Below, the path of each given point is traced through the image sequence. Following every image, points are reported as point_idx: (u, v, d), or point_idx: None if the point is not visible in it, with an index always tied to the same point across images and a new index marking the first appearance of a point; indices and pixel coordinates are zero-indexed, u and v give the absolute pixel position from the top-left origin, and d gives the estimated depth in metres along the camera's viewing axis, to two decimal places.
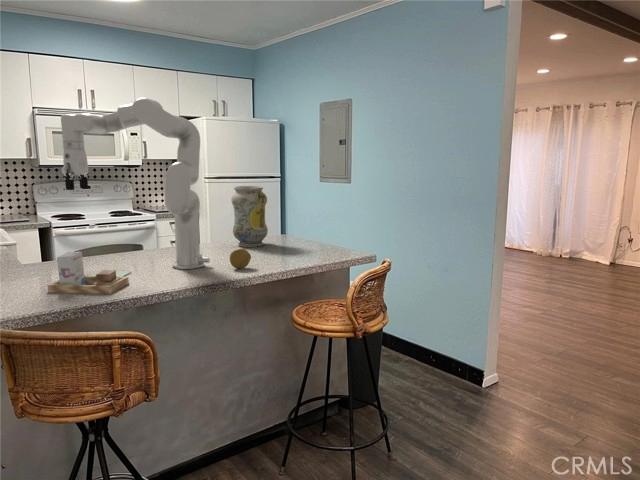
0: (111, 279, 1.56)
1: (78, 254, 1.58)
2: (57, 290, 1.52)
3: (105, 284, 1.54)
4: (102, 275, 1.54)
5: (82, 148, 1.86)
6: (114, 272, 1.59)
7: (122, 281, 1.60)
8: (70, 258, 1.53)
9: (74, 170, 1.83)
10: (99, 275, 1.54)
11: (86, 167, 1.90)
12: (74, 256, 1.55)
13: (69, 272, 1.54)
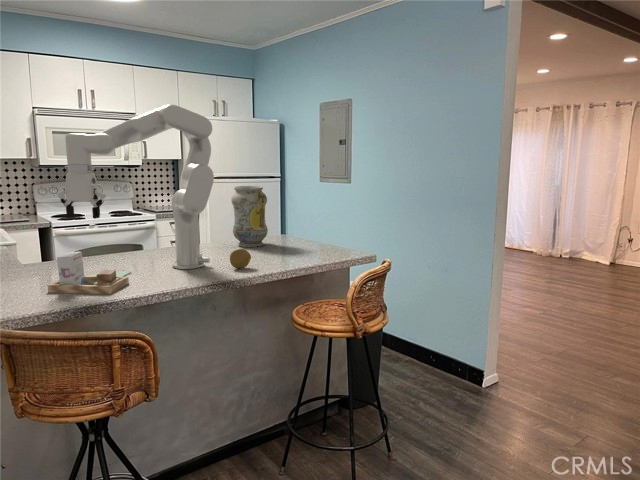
0: (112, 279, 1.56)
1: (78, 254, 1.58)
2: (57, 290, 1.52)
3: (105, 284, 1.54)
4: (103, 275, 1.54)
5: None
6: (114, 272, 1.59)
7: (122, 281, 1.60)
8: (70, 258, 1.53)
9: (98, 196, 1.66)
10: (100, 275, 1.54)
11: None
12: (74, 256, 1.55)
13: (69, 272, 1.54)
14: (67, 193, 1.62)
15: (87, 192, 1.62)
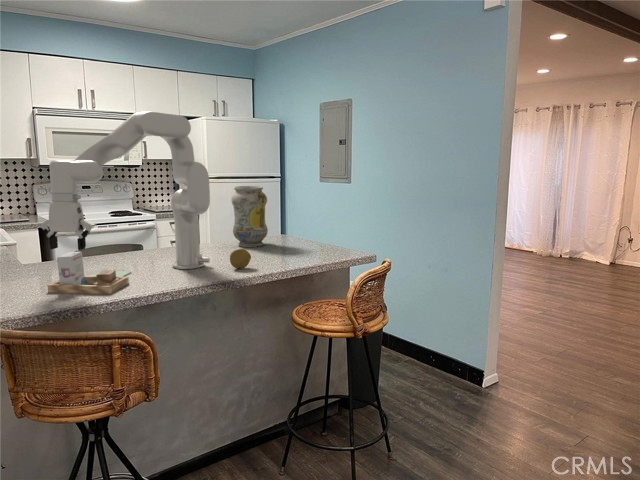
0: (112, 279, 1.56)
1: (78, 254, 1.58)
2: (57, 290, 1.52)
3: (105, 284, 1.54)
4: (103, 275, 1.54)
5: None
6: (114, 272, 1.59)
7: (122, 281, 1.60)
8: (70, 258, 1.53)
9: (84, 226, 1.57)
10: (100, 275, 1.54)
11: None
12: (74, 256, 1.55)
13: (69, 272, 1.54)
14: (50, 223, 1.53)
15: (72, 222, 1.52)
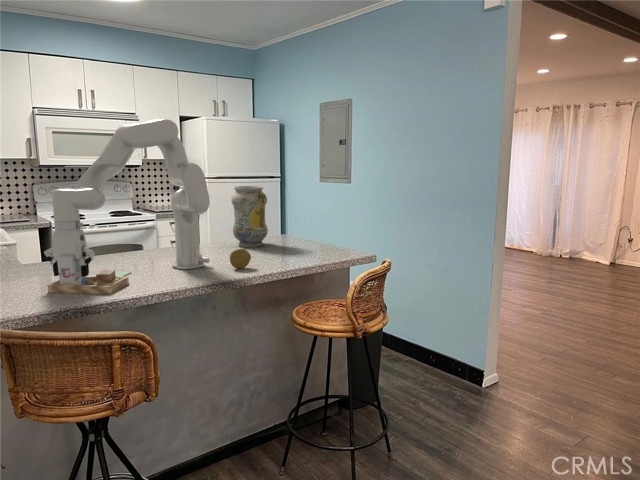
0: (111, 279, 1.56)
1: None
2: (57, 290, 1.52)
3: (105, 284, 1.54)
4: (102, 275, 1.54)
5: None
6: (114, 272, 1.59)
7: (122, 281, 1.60)
8: (70, 258, 1.53)
9: (87, 252, 1.59)
10: (99, 275, 1.54)
11: None
12: None
13: (69, 272, 1.54)
14: (54, 251, 1.55)
15: (75, 250, 1.54)
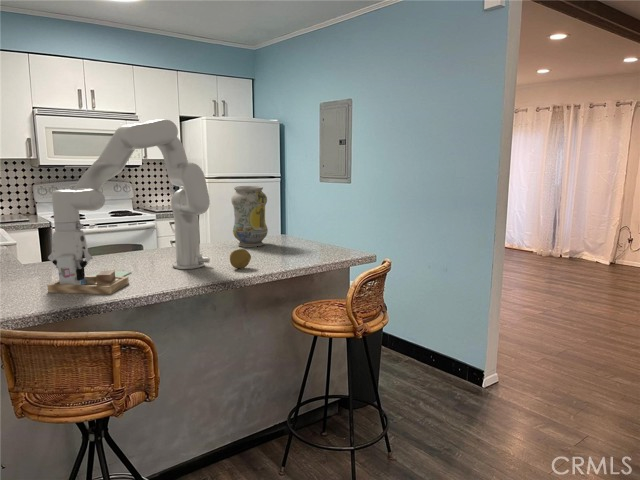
0: (111, 279, 1.56)
1: None
2: (57, 290, 1.52)
3: (106, 284, 1.54)
4: (103, 276, 1.54)
5: None
6: (113, 272, 1.59)
7: (122, 281, 1.60)
8: (70, 258, 1.53)
9: None
10: (100, 276, 1.54)
11: None
12: None
13: (69, 271, 1.54)
14: (54, 252, 1.55)
15: (75, 251, 1.54)
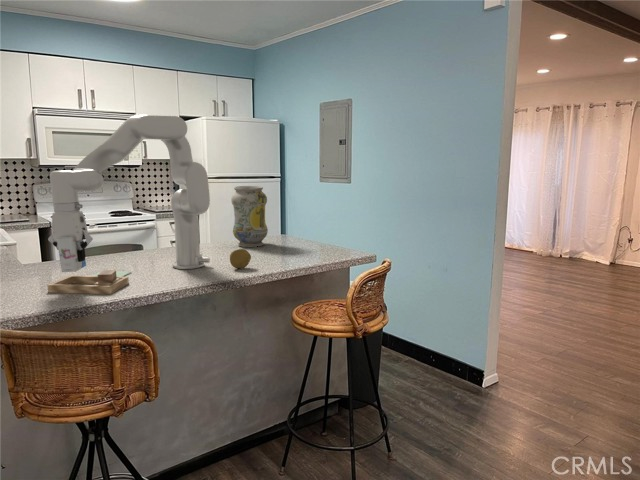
0: (113, 279, 1.56)
1: None
2: (57, 290, 1.52)
3: (106, 284, 1.54)
4: (104, 275, 1.54)
5: None
6: (115, 272, 1.59)
7: (122, 281, 1.60)
8: (70, 239, 1.52)
9: None
10: (101, 275, 1.54)
11: None
12: None
13: (70, 253, 1.53)
14: (54, 233, 1.54)
15: (75, 232, 1.53)
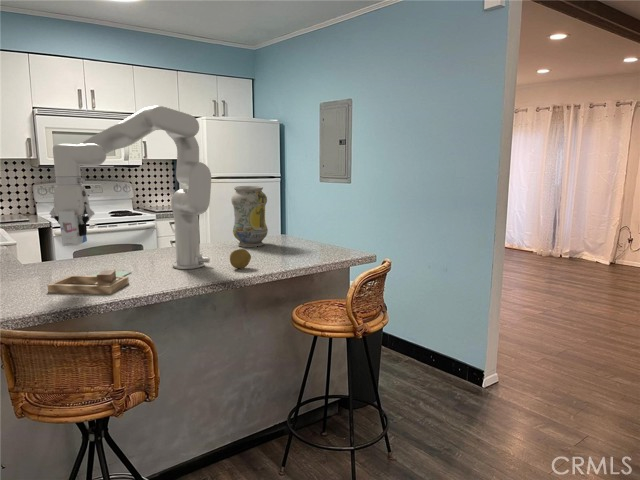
0: (112, 279, 1.56)
1: None
2: (57, 290, 1.52)
3: (106, 284, 1.54)
4: (103, 275, 1.54)
5: None
6: (114, 272, 1.59)
7: (122, 281, 1.60)
8: (71, 213, 1.52)
9: None
10: (100, 275, 1.54)
11: None
12: None
13: (71, 226, 1.53)
14: (56, 207, 1.54)
15: (77, 206, 1.54)
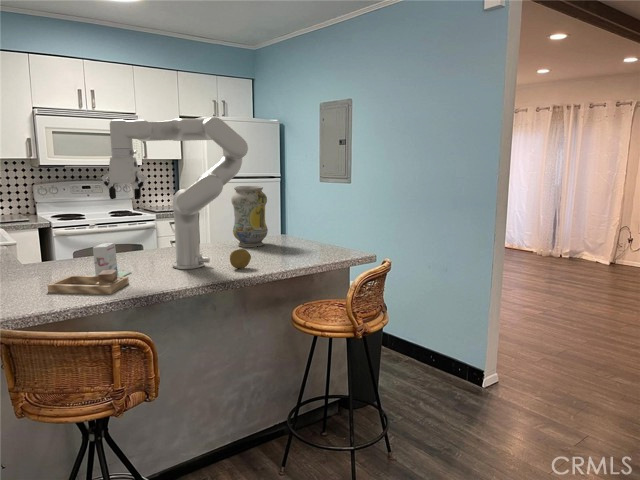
0: (113, 279, 1.57)
1: (112, 245, 1.73)
2: (57, 290, 1.52)
3: (106, 284, 1.54)
4: (105, 275, 1.54)
5: None
6: (115, 272, 1.59)
7: (122, 281, 1.60)
8: (104, 249, 1.67)
9: None
10: (101, 275, 1.54)
11: None
12: (108, 247, 1.69)
13: (104, 261, 1.68)
14: (111, 176, 1.75)
15: (130, 174, 1.74)
